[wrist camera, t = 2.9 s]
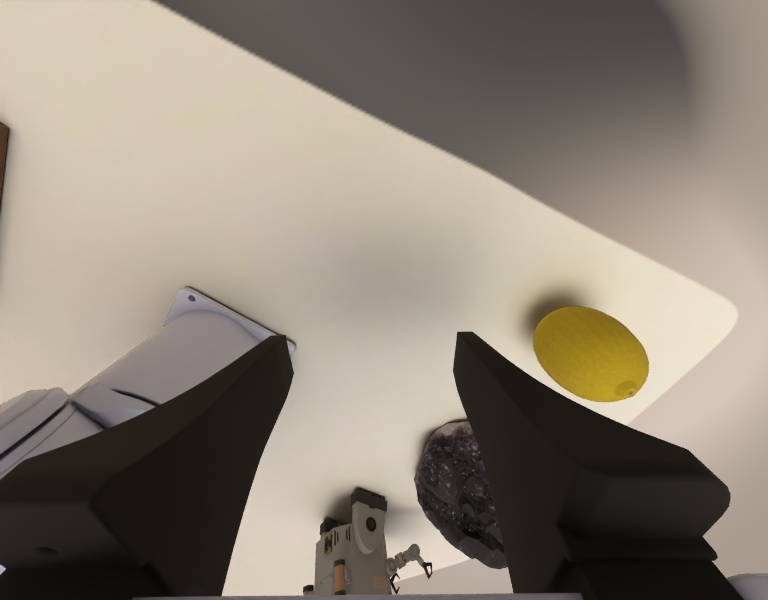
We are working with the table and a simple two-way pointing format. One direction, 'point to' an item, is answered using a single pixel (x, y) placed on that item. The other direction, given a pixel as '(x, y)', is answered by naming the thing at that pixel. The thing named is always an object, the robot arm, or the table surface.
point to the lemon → (590, 354)
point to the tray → (2, 152)
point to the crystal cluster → (460, 494)
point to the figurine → (358, 553)
